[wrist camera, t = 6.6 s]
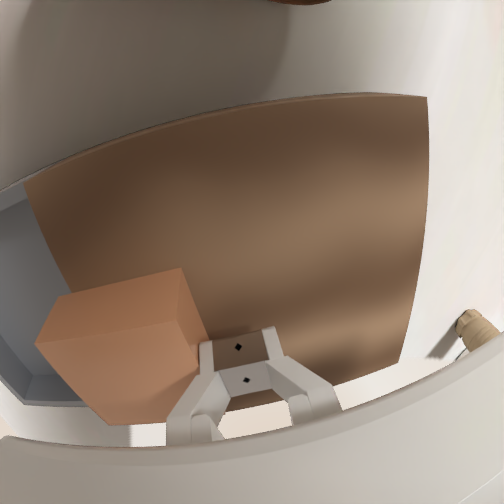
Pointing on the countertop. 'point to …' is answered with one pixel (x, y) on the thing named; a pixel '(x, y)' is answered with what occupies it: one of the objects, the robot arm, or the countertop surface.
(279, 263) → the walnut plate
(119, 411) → the terracotta block
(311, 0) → the tin
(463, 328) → the handle
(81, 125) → the countertop surface
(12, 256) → the box
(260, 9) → the countertop surface
